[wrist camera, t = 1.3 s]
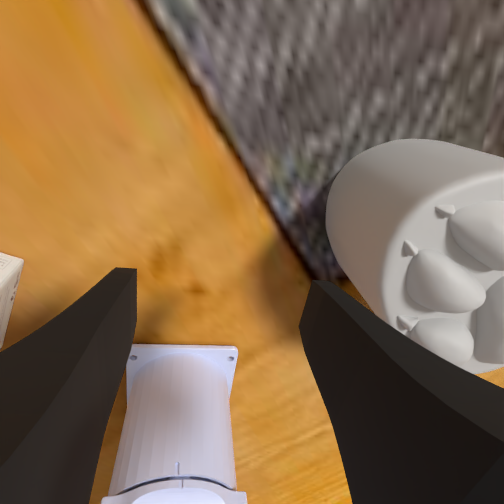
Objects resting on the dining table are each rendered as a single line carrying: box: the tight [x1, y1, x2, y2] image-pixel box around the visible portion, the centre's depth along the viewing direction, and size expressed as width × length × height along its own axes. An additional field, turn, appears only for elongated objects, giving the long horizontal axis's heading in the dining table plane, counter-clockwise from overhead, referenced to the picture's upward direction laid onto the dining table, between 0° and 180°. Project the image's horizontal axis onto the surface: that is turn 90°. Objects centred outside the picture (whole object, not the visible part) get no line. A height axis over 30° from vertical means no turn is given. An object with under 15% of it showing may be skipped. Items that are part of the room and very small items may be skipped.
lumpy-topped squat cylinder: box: [326, 139, 504, 374], centre depth 18 cm, size 10×13×9 cm
